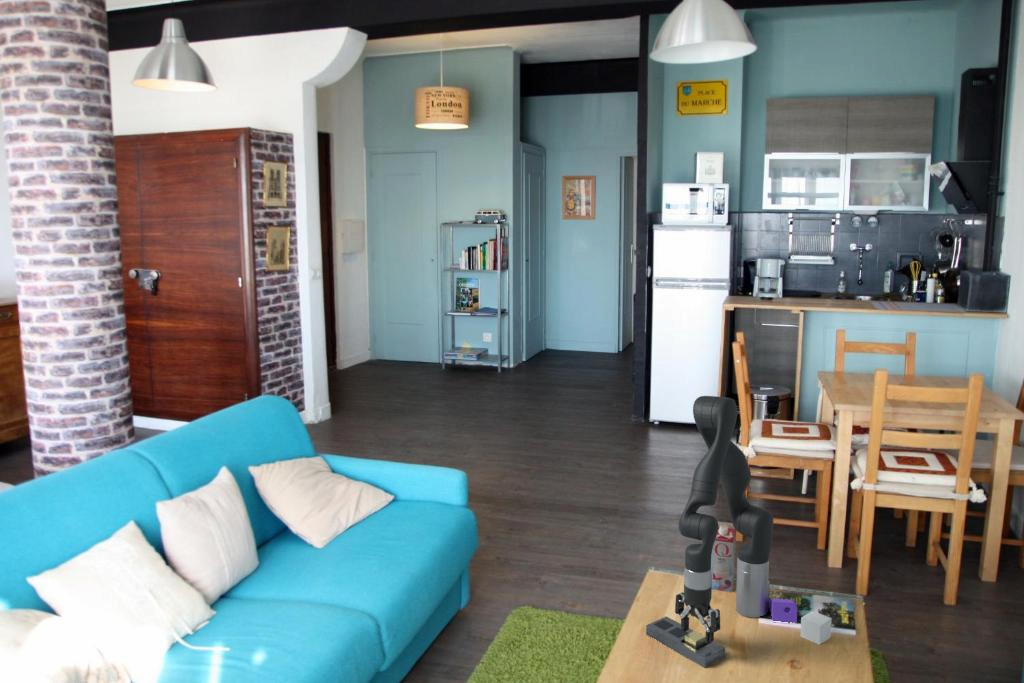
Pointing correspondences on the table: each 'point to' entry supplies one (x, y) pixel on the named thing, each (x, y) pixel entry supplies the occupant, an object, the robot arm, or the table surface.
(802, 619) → the light grey cube
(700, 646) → the brushed gold cube
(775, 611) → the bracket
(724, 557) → the juice carton
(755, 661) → the table surface
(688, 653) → the silver slotted board
